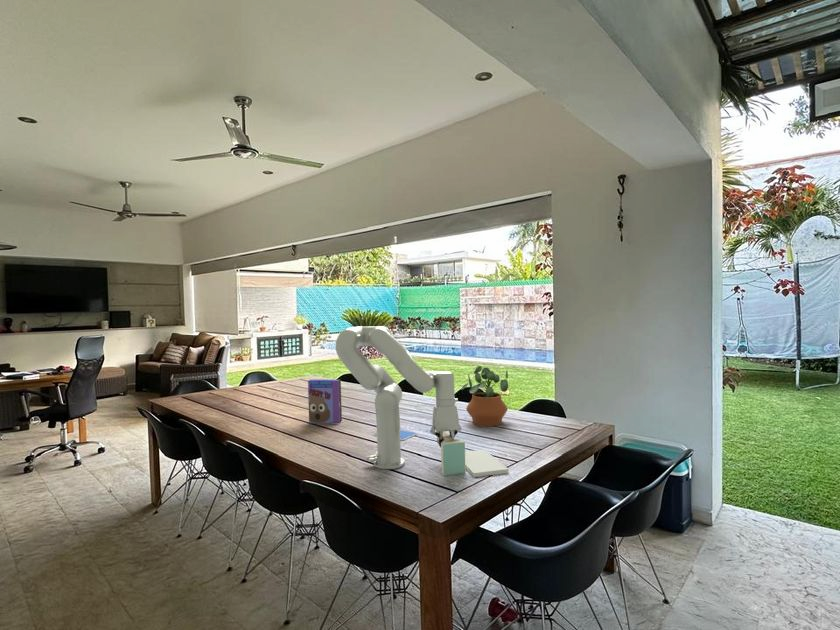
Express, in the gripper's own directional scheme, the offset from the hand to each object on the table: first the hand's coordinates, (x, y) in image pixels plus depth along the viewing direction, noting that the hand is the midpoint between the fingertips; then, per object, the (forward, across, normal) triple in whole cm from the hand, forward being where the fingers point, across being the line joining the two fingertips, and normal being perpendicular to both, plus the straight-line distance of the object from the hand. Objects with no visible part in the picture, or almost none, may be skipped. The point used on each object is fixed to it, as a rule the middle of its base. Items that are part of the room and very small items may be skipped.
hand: (446, 447), depth 180 cm
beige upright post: (0, 0, 0) cm, 0 cm away
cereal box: (+7, +44, -85) cm, 96 cm away
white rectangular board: (+7, -13, +3) cm, 15 cm away
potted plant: (+8, -39, -52) cm, 66 cm away
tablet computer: (+8, +11, -48) cm, 50 cm away
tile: (+7, 0, +9) cm, 12 cm away
